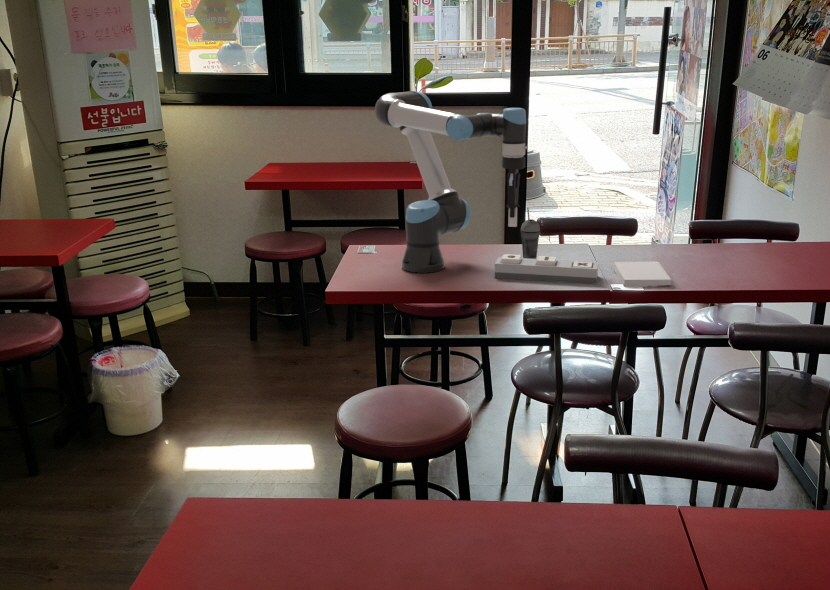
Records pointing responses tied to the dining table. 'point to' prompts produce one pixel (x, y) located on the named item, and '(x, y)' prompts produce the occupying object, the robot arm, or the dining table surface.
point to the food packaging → (641, 274)
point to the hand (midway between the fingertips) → (512, 226)
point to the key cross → (583, 264)
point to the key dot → (511, 259)
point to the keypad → (547, 271)
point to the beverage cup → (530, 237)
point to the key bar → (546, 261)
